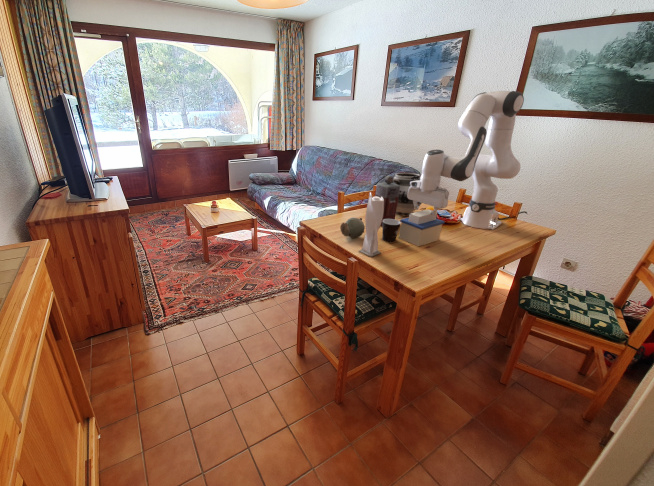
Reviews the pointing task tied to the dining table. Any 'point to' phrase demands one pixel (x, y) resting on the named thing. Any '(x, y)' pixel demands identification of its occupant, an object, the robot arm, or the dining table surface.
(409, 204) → the ceramic pot
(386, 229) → the coffee mug
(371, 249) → the skyscraper
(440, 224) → the container
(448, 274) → the dining table surface
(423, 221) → the case
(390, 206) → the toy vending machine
